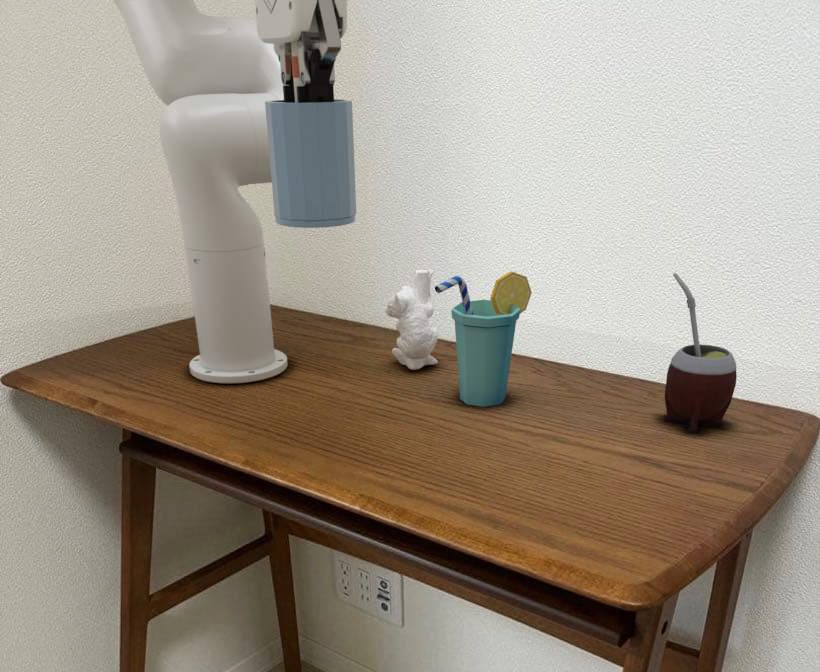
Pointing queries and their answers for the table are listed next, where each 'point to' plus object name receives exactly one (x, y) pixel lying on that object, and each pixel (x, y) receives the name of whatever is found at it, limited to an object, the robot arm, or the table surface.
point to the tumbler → (312, 162)
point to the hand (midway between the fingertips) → (310, 134)
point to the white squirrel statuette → (414, 322)
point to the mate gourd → (699, 380)
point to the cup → (487, 337)
